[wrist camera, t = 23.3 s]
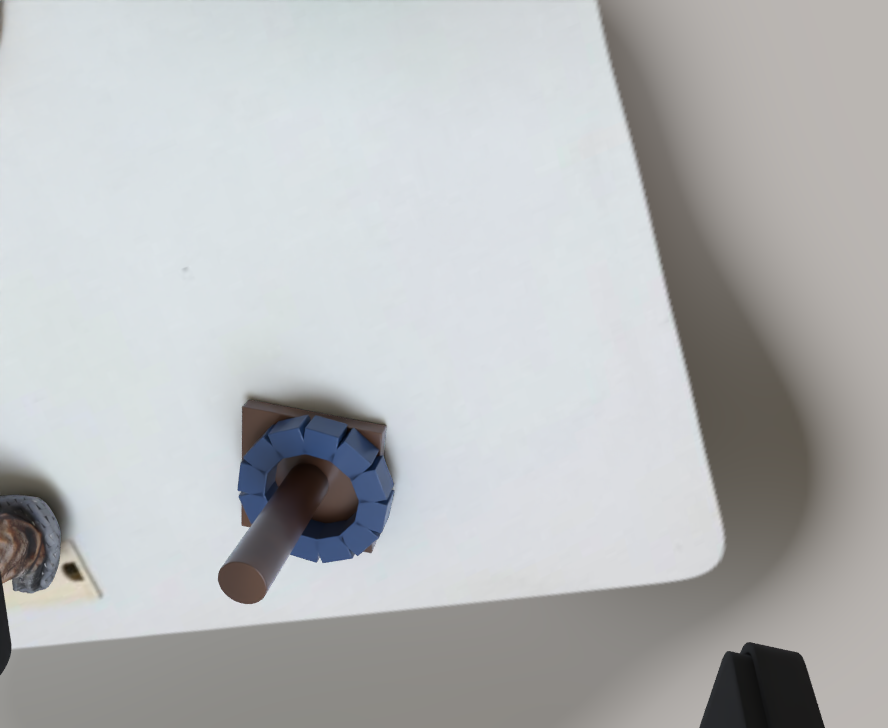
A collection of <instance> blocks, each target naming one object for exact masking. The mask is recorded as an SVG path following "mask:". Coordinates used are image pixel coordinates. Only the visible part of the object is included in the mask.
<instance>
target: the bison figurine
mask: <svg viewBox="0 0 888 728" xmlns="http://www.w3.org/2000/svg"><path fill="white" fill-rule="evenodd" d="M60 544H61V531H60V527H59V524H58V522H57V519H56V517H55V516H54V514H53V512H52V511H51V509H50V507H49V506H48V505H47V504H46V502H44V501H43V500H42V499H40V498H37V497H33V496H23V495H6V496H0V572H1V578H2V583H5V582H7V581H8V580H10V579H12V584H13V590H14V591H18V590H19V591H20V592H27V593H34V592H36V591H39V590H43V589H46V588H47V587H49V585H50V584H51V582H52V581H53V579H54V577H55V574H56V571H57V568H58V565H59V559H60Z"/></svg>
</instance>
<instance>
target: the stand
mask: <svg viewBox="0 0 888 728" xmlns="http://www.w3.org/2000/svg"><path fill="white" fill-rule="evenodd" d="M304 415H309V417H310V419H311V420H312V418H313V417H314V416H315V415H317V416H320V417H324V418H327V419H331V420H334V421H338V422H341V423H345V424H347V425H348V426H347V432H346V434H347V433H348V432H349V431H350V430H351V429H352V428H355V429H356V430H357V431H358V432H360V433H361V434H362V435H363V436H364V437H365V438H366V439H367V440H369V441H370V442H371V443H372V444H373V445H374V446H375V447H376V448H378V449H379V452H378V454H377V455H376V457H377V456H382V455H383V457H384V449H385V438H386V426H385V425H380V424H375V423H370V422H364V421H359V420H354V419H349V418H344V417H338V416H333V415H328V414H323V413H318V412H312V411H307V410H302V409H297V408H292V407H286V406H281V405H276V404H271V403H265V402H260V401H255V400H248V401H247V402H246V403H245V404H244V406H243V407H242V461H243V459H244V458H243V457H244V455H245V454H246V453H247V452H248V451H249V449H250V448H251V447H252V446H253V445H254V443H255V442H256V441H257V440H258V439H259V438H260V437H261V436H262V435H263V434H264V433H265V432H266V431H267V430H268V429H269V428H270V427H271V426H272V425H273V424H274V425H276V424H277V422H278V421H281V420H286V419H291V418H295V417H300V416H304ZM275 481H276V483H277V486H278V489H277V490H276V491H275V493H274V494H273V496H272V497H271V498H270V500H269V501H268V503H267V504H266V505H265V507H264V508H263V510H262V511H261V513H260V514H259V515H258V517H257V518H256V520H255V521H254V522H253V524H251V523H250V521H249V519H248V516H247V514H246V512H245V510H244V508H243V505H242V526H246V527H250V528H249V529H248V531H247V532H246V534H245V535H244V536H243V538H242V539H241V541H240V542H239V543H238V545H237V546H236V548H235V549H234V551H233V552H232V553H231V555H230V556H229V558H228V559H227V560H226V562H225V563H224V565H223V566H222V567H221V569H220V571H219V574H218V582H219V585H220V587H221V589H222V590H223V592H224V593H225V594H226V595H227V596H228V597H230V598H231V599H233V600H234V601H237V602H239V603H243V604H253V603H257V602H259V601H260V600H262V599H263V598H264V596H265V595H266V593H267V591H268V590H269V588H270V586H271V585H272V583H273V581H274V580H275V578H276V576H277V575H278V573H279V571H280V570H281V568H282V566H283V565H284V563H285V561H286V560H287V558H288V556H289V555H290V553H291V551H292V550H293V548H294V546H295V545H296V543H297V541H298V540H299V538H300V536H301V535H302V533H303V531H304V530H305V528H306V526H307V525H308V523H309V521H310V520H311V519H312V520H315V521H319V522H322V523H325V524H326V523H332V522H338V521H343V520H348V519H349V518H350V517H351V516H352V515H353V514H354V513H355V512H356V511H357V507H358V502H359V500H358V498H357V495H356V493H355V490H354V488H353V485H352V483H351V480H350V478H349V477H347V476H346V475H345V474H344V473H343V472H342V471H341V470H339V469H338V468H337V467H336V466H335V465H334V464H333V463H331V462H330V461H327V460H324V459H321V458H317V457H314V456H310V455H307V454H304V455H299V456H294V457H289V458H284V459H282V460H281V461H280V462H279V463H278V464H277V471H276V478H275ZM375 544H376V541H375V542H373V543H372V544H371V545H370V546H369V547H368V548H367V549H365V550H364V551H363V552H368V553H372V551H373V549H374V546H375Z"/></svg>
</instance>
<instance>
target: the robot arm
mask: <svg viewBox="0 0 888 728" xmlns="http://www.w3.org/2000/svg"><path fill="white" fill-rule="evenodd" d="M10 654H11V639H10V632H9V626H8V619H7V612H6V605H5V599H4V592H3V585H2V578H1V572H0V675H1V673H2V672H3V671H4V669H5V667H6V665H7V663H8V661H9V658H10ZM700 728H825V727H824V724H823V720H822V717H821V714H820V710H819V707H818V704H817V701H816V697H815V694H814V691H813V688H812V684H811V681H810V678H809V674H808V671H807V668H806V665H805V662H804V660H803V657H802V656H801V655H800V654H799V653H797V652H792V651H788V650H783V649H779V648H774V647H769V646H765V645H760V644H755V643H751V642H749V643H746V644H745V645H744V646H743V648H742V650H741V652H740V653H735V652H731V651H727V652H726V653H725V655H724V657H723V659H722V662H721V665H720V668H719V671H718V674H717V677H716V680H715V683H714V686H713V689H712V692H711V695H710V698H709V701H708V704H707V707H706V710H705V713H704V716H703V719H702V721H701V724H700Z"/></svg>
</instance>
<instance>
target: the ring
mask: <svg viewBox="0 0 888 728" xmlns="http://www.w3.org/2000/svg"><path fill="white" fill-rule="evenodd" d="M347 426H348V425H347V424H345V423H341V422H338V421H334V420H331V419H327V418H324V417H320V416H317V415H315V416H314V417H313V418H312V420H311V419H310V417H309V415H304V416H300V417H295V418H291V419H286V420H281V421H278V422H277V424H276V425H274V424H273V425H272V426H271V427H270V428H269V429H268V430H267V431H266V432H265V433H264V434H263V435H262V436H261V437H260V438H259V439H258V440H257V441H256V442H255V443H254V445H253V446H252V447H251V448H250V449H249V451H248V452H247V453H246V454H245V455H244V457H243V458H244V459H243V461H242V462H241V465H240V473H239V481H238V491H241V493H240V495H239V499H240V501H241V503H242V505H243V508H244V510H245V512H246V514H247V516H248V519H249V521H250V523H251V524H253V522H254V521H255V520H256V518H257V517H258V515H259V514H260V513H261V511H262V510H263V508H264V507H265V505H266V504H267V503H268V501H269V500H270V498H271V497H272V496H273V494H274V493H275V491H276V490H277V489H278V486H277V483H276V481H275V478H276V471H277V464H278V463H279V462H280V461H281V460H282V459H284V458H289V457H294V456H299V455H304V454H307V455H310V456H314V457H317V458H321V459H324V460H327V461H330V462H331V463H333V464H334V465H335V466H336V467H337V468H338V469H339V470H341V471H342V472H343V473H344V474H345V475H346V476H347V477H349V478H350V480H351V483H352V485H353V488H354V490H355V493H356V495H357V498H358V500H359V502H358V507H357V511H356V512H355V513H354V514H353V515H352V516H351V517H350V518H349V519H348V520H343V521H338V522H332V523H326V524H325V523H322V522H319V521H315V520H312V519H311V520H310V521H309V523H308V525H307V526H306V528H305V530H304V531H303V533H302V535H301V536H300V538H299V540H298V541H297V543H296V545H295V546H294V548H293V550H292V551H291V553H290V555H293V556H296V557H300V558H303V559H306V560H310V561H313V562H317V561H318V559H319V558H321V560H322V563H326V562H333V561H339V560H345V559H352V558H353V556H354V554H356V555H357V556H358V555H360V554H361V553H362V552H363V551H364V550H365V549H367V548H368V547H369V546H370V545H371V544H372V543H373V542H375V541H376V540H377V539H378V538H379V536H380V534H381V533H382V531H383V529H384V527H385V524H386V522H387V520H388V518H389V514H390V509H391V505H392V500H393V496H394V490H392V488H393V486H394V483H393V480H392V478H391V475H390V472H389V470H388V467H387V464H386V462H385V459H384V457H383V455H382V456H377V457H376V455H377V454H378V452H379V449H378V448H376V447H375V446H374V445H373V444H372V443H371V442H370V441H369V440H367V439H366V438H365V437H364V436H363V435H362V434H361V433H360V432H358V431H357V430H356V429H355V428H352V429H351V430H350V431H349V432H348V433H347V434H346V432H347Z"/></svg>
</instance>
